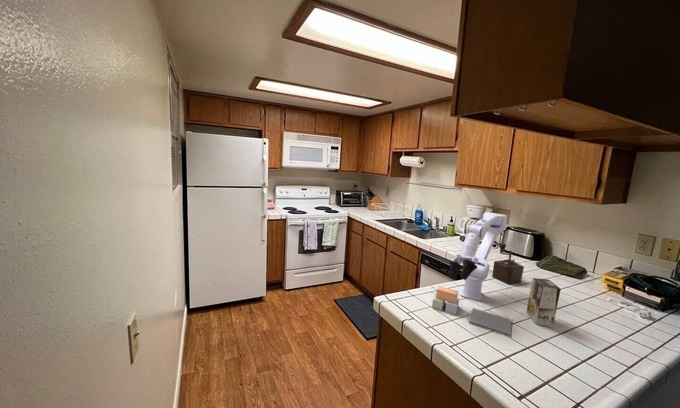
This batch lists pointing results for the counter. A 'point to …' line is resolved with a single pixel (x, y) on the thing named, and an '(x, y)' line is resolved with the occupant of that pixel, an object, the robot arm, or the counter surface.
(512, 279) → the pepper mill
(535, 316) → the coffee box
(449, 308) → the blue brick
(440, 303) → the sage brick
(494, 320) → the slate mat
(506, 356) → the counter surface
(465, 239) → the robot arm
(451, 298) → the terracotta brick
